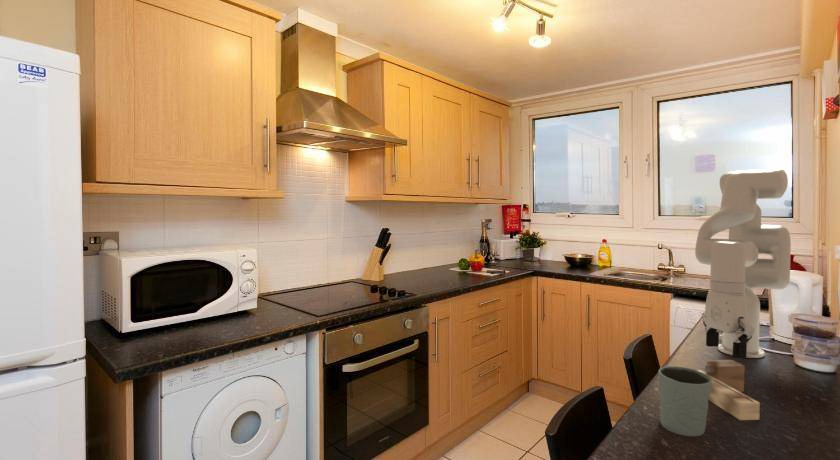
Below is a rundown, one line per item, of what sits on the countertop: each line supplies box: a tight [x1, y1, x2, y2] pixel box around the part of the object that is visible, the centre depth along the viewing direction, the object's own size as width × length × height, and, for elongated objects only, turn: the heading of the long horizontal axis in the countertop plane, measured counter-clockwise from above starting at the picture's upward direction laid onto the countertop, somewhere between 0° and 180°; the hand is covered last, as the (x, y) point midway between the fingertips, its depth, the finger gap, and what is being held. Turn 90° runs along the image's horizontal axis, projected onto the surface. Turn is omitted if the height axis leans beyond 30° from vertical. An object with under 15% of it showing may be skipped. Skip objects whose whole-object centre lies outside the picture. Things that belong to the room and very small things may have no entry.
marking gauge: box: [705, 359, 746, 393], centre depth 117 cm, size 4×10×7 cm, turn 93°
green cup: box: [658, 365, 712, 437], centre depth 97 cm, size 10×10×12 cm
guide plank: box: [696, 369, 761, 421], centre depth 110 cm, size 20×4×4 cm, turn 2°
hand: (725, 351), depth 117 cm, fingers open, 9 cm apart
